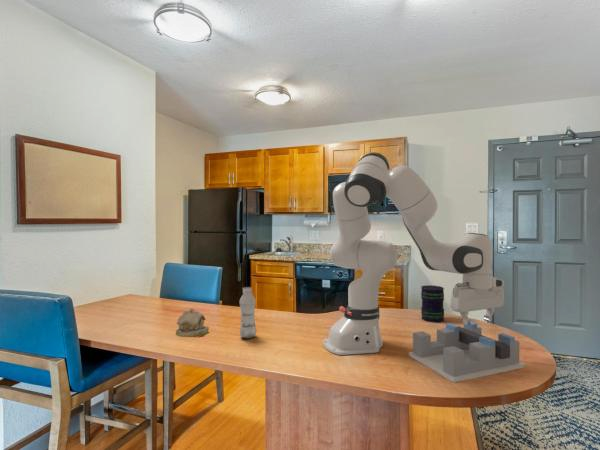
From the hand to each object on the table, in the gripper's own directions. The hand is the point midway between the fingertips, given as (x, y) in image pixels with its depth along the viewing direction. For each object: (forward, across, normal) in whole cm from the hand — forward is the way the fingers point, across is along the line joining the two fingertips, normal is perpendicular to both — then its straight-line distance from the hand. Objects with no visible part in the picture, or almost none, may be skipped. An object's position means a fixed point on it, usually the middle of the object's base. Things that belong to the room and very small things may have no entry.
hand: (477, 322), depth 109 cm
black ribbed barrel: (+12, +17, +39) cm, 44 cm away
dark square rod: (+8, 0, -1) cm, 8 cm away
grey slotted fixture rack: (+12, -6, 0) cm, 13 cm away
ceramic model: (+13, -89, +63) cm, 110 cm away
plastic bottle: (+12, -68, +48) cm, 84 cm away
